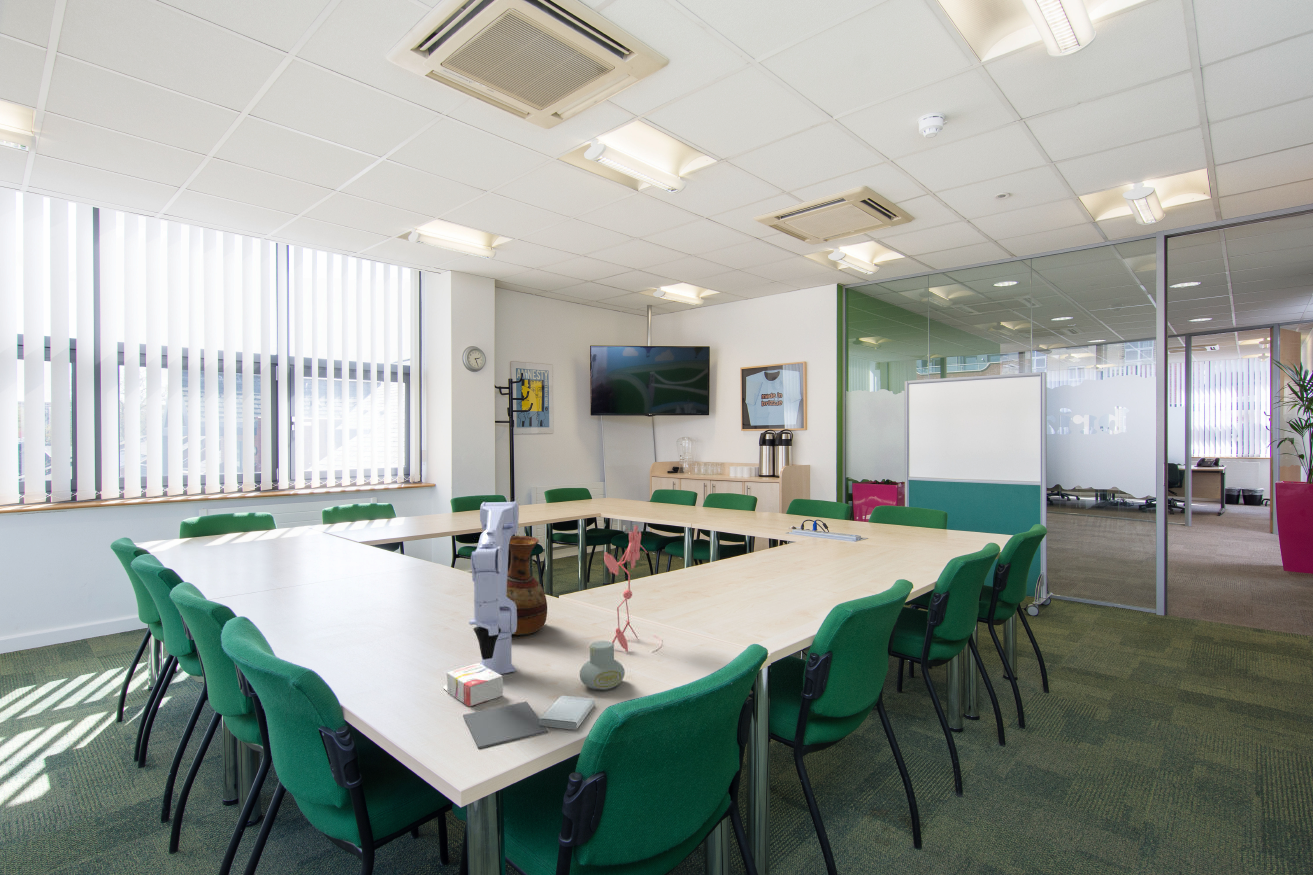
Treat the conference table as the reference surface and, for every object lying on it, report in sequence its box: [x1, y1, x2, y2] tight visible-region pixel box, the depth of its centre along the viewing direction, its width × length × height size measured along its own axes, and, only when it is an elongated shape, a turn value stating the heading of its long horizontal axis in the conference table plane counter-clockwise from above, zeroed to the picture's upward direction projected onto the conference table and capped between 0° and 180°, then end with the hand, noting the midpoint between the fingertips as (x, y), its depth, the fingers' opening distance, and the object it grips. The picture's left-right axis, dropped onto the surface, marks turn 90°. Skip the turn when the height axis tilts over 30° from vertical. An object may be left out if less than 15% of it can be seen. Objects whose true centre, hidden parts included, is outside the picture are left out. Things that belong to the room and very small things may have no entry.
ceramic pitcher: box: [499, 535, 548, 636], centre depth 192 cm, size 20×20×30 cm
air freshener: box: [579, 640, 626, 691], centre depth 148 cm, size 11×8×10 cm
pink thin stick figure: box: [603, 524, 663, 653], centre depth 177 cm, size 15×26×35 cm, turn 165°
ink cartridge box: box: [442, 662, 504, 707], centre depth 144 cm, size 9×5×15 cm
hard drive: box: [539, 695, 596, 731], centre depth 131 cm, size 2×8×12 cm
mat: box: [462, 701, 549, 750], centre depth 128 cm, size 16×14×1 cm
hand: (487, 658), depth 142 cm, fingers closed
